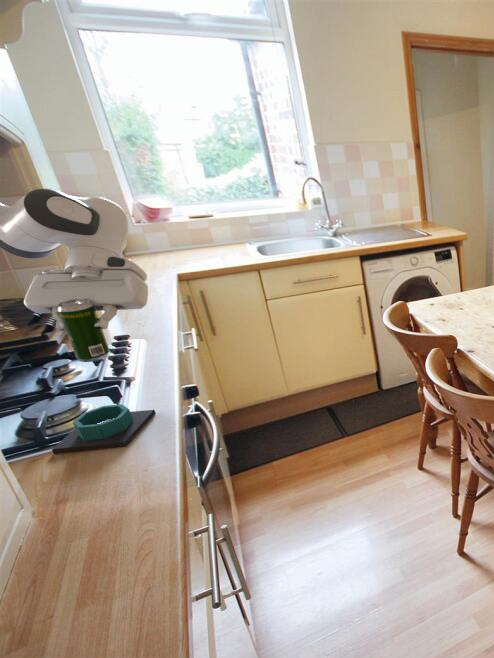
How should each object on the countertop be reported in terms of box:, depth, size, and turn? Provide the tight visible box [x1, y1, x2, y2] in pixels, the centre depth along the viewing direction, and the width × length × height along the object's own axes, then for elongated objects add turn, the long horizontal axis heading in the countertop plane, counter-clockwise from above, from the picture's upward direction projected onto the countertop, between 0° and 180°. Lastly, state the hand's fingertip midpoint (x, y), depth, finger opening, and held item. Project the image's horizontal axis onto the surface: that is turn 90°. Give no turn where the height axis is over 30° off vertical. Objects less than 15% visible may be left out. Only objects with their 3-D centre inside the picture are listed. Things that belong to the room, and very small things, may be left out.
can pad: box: [51, 403, 156, 455], centre depth 93 cm, size 12×12×4 cm
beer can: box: [58, 299, 111, 363], centre depth 94 cm, size 5×5×12 cm
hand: (81, 329), depth 94 cm, fingers closed on beer can, 5 cm apart
